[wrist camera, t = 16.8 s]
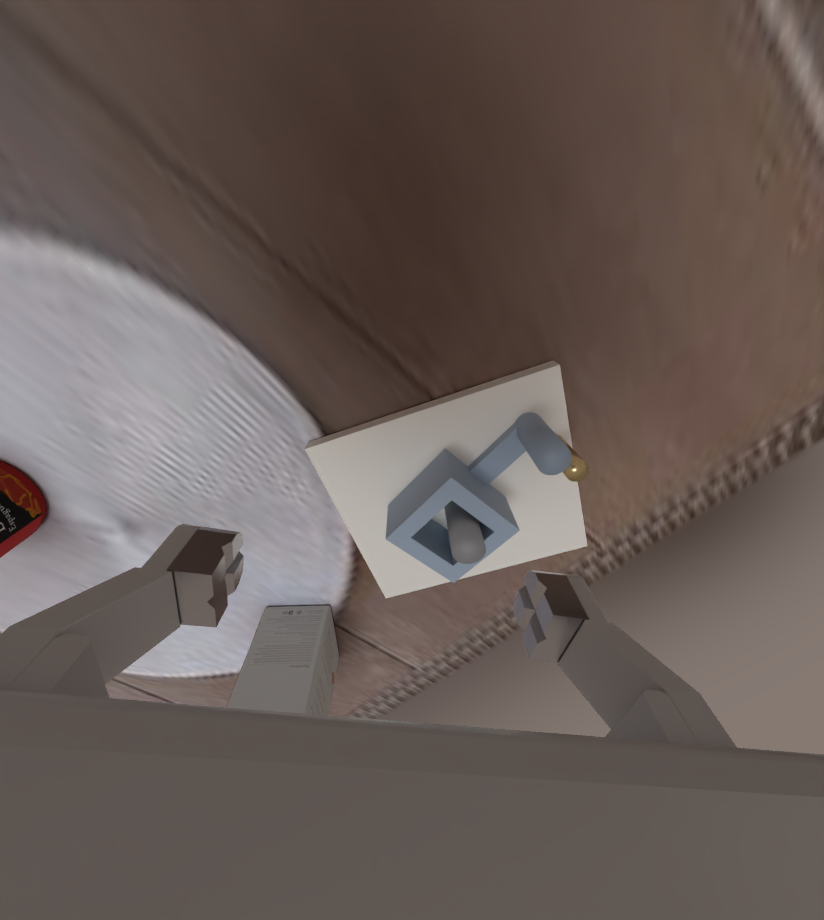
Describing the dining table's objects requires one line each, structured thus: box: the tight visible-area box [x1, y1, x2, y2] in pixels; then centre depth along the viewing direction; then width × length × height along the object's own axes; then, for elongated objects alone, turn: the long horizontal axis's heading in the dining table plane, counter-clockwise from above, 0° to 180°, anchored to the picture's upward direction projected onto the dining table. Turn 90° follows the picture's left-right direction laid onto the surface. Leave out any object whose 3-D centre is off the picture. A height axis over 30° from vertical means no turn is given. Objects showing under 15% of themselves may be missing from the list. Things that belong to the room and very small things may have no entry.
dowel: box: [557, 435, 589, 482], centre depth 24 cm, size 1×1×4 cm
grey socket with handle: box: [386, 412, 572, 583], centre depth 25 cm, size 12×6×5 cm, turn 139°
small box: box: [226, 605, 339, 716], centre depth 31 cm, size 8×6×13 cm
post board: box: [305, 360, 587, 598], centre depth 26 cm, size 16×18×7 cm
